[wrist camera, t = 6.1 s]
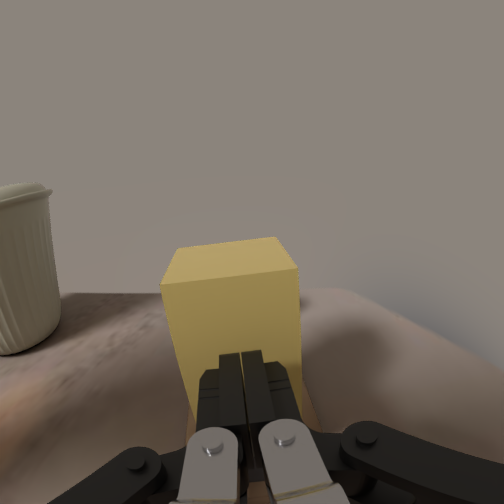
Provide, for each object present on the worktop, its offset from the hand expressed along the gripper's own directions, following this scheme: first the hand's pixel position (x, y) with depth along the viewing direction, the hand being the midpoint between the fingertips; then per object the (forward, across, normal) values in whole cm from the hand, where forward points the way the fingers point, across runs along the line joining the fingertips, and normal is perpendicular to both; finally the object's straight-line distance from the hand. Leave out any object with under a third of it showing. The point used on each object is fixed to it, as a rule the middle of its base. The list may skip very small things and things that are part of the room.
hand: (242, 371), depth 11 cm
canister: (+20, +28, +9) cm, 35 cm away
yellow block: (+4, 0, +7) cm, 8 cm away
